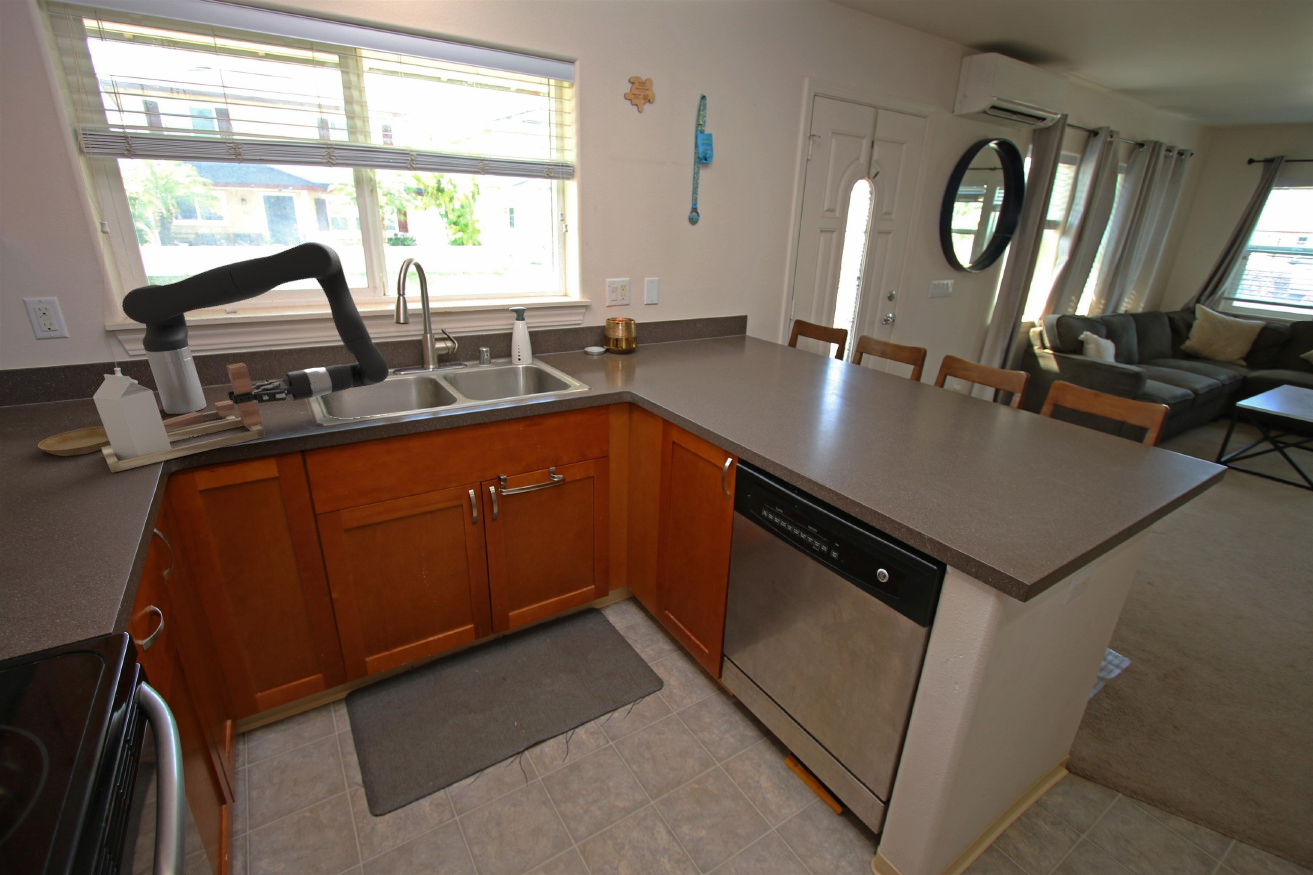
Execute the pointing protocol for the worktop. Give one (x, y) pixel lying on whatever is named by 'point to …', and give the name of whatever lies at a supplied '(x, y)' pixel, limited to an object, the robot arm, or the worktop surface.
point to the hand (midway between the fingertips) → (231, 398)
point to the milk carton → (130, 417)
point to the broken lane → (201, 418)
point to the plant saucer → (76, 442)
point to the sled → (204, 429)
